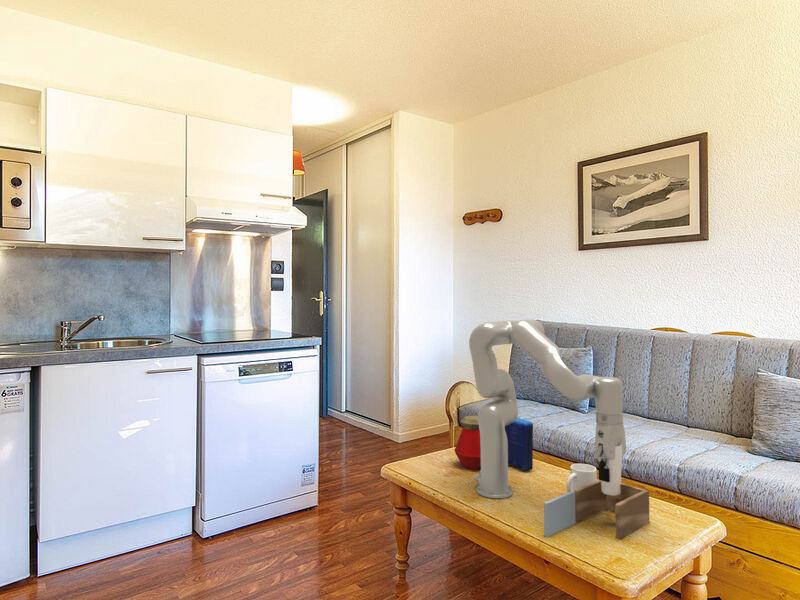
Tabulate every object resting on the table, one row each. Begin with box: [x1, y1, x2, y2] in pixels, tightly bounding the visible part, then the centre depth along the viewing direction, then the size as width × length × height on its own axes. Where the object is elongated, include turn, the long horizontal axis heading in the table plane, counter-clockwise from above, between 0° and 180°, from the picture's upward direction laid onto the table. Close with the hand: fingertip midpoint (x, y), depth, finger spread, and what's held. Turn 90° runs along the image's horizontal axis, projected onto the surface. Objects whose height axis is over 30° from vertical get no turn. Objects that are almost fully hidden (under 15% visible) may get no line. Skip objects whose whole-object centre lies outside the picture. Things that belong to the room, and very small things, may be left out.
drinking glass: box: [601, 444, 623, 496], centre depth 147 cm, size 7×7×15 cm
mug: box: [565, 463, 598, 493], centre depth 165 cm, size 12×8×10 cm
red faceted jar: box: [454, 415, 481, 471], centre depth 199 cm, size 16×14×20 cm
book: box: [505, 417, 534, 472], centre depth 198 cm, size 14×5×20 cm, turn 29°
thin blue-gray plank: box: [543, 491, 576, 538], centre depth 143 cm, size 14×1×10 cm, turn 127°
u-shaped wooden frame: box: [574, 479, 650, 540], centre depth 147 cm, size 14×17×10 cm
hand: (610, 477), depth 147 cm, fingers closed on drinking glass, 6 cm apart
